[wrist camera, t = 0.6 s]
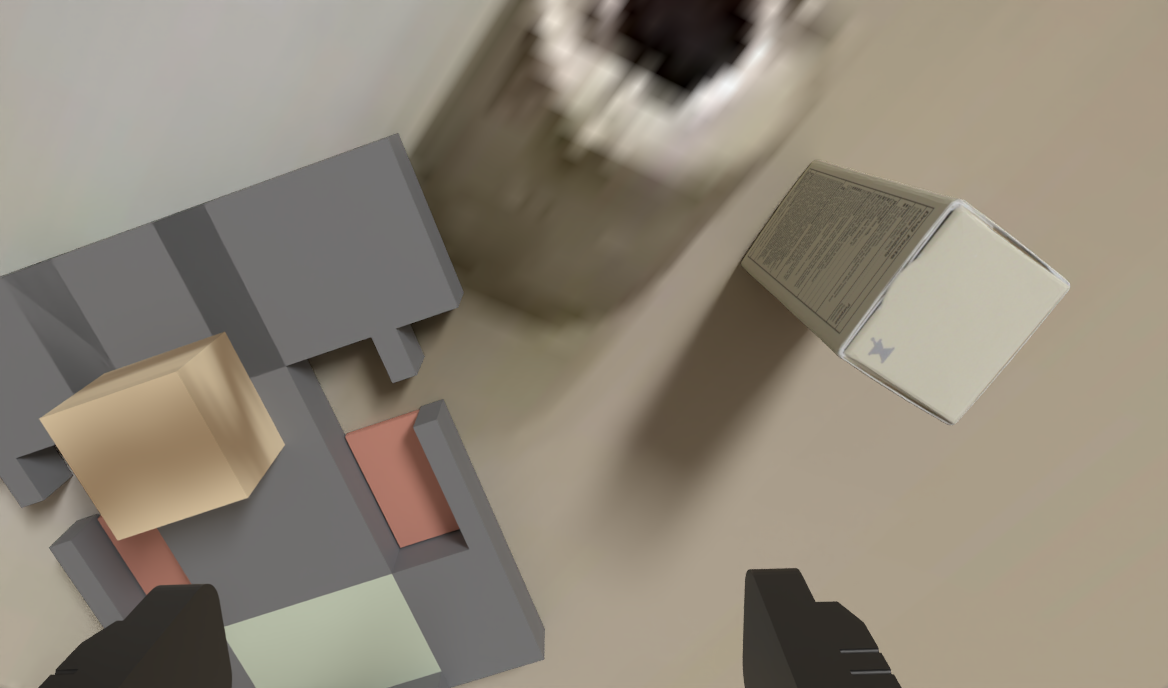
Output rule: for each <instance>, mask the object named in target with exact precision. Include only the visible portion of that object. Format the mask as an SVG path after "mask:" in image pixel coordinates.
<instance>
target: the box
mask: <svg viewBox="0 0 1168 688" xmlns="http://www.w3.org/2000/svg"><path fill="white" fill-rule="evenodd" d="M741 265H742V267H743V268H744V269H745V270H746V271H747V272H748V273H749V274H750V275H752V276H753V277H754V278H755V279H756V280H757V281H758V282H759V283H760V284H762V285H763V286H764V287H765V288H766V289H767V290H768V291H769V292H770V293H772V294H773V295H774V296H775V297H776V298H777V299H778V300H779V301H780V302H781V303H782V304H783V305H784V306H785V307H786V308H787V309H789V310H790V311H791V312H792V313H793V314H794V315H795V316H796V317H797V318H798V319H799V320H800V321H801V322H803V323H804V324H805V325H806V326H807V327H808V328H809V329H810V330H811V331H812V332H813V333H814V334H815V335H816V336H818V337H819V338H820V339H821V340H822V341H823V342H824V343H825V344H826V345H827V346H828V347H829V348H830V349H831V350H832V351H833V352H834V353H835V354H836V355H837V356H838V357H840V358H841V359H843V360H845V361H846V362H847V363H849V364H850V365H852V366H853V367H855V368H856V369H858V370H859V371H861V372H862V373H864V374H865V375H867V376H868V377H870V378H871V379H873V380H874V381H876V382H877V383H879V384H880V385H882V386H884V387H885V388H887V389H888V390H890V391H892V392H893V393H895V394H896V395H898V396H900V397H901V398H903V399H904V400H906V401H908V402H909V403H911V404H913V405H914V406H916V407H918V408H920V409H921V410H923V411H925V412H926V413H928V414H930V415H931V416H933V417H935V418H937V419H938V420H940V421H941V422H943V423H945V424H947V425H954V424H955V423H957V422H958V421H959V419H960V418H961V417H962V416H963V415H964V414H965V413H966V412H967V411H968V409H969V408H970V407H971V406H972V405H973V404H974V403H975V401H976V400H977V399H978V398H979V397H980V396H981V395H982V394H983V392H984V391H985V390H986V389H987V388H988V386H989V385H990V384H991V383H992V382H993V381H994V379H995V378H996V377H997V376H998V375H999V374H1000V373H1001V371H1002V370H1003V369H1004V368H1005V367H1006V366H1007V364H1008V363H1009V362H1010V361H1011V360H1012V358H1013V357H1014V356H1015V355H1016V354H1017V352H1018V351H1019V350H1020V349H1021V347H1022V346H1023V345H1024V344H1025V343H1026V342H1027V340H1028V339H1029V338H1030V337H1031V336H1032V334H1033V333H1034V332H1035V331H1036V329H1037V328H1038V327H1039V326H1040V325H1041V323H1042V322H1043V321H1044V320H1045V318H1046V317H1047V316H1048V315H1049V314H1050V312H1051V311H1052V310H1053V309H1054V307H1055V306H1056V305H1057V304H1058V303H1059V301H1060V300H1061V299H1062V298H1063V297H1064V295H1065V294H1066V293H1067V292H1068V290H1069V289H1070V283H1069V282H1068V281H1067V280H1066V279H1065V278H1064V277H1063V276H1061V275H1060V274H1059V273H1058V272H1057V271H1055V270H1054V269H1053V268H1052V267H1050V266H1049V265H1048V264H1047V263H1045V262H1044V261H1043V260H1042V259H1040V258H1039V257H1038V256H1037V255H1036V254H1034V253H1033V252H1032V251H1031V250H1029V249H1028V248H1027V247H1025V246H1024V245H1023V244H1022V243H1020V242H1019V241H1018V240H1017V239H1015V238H1014V237H1013V236H1011V235H1010V234H1009V233H1008V232H1006V231H1005V230H1004V229H1002V228H1001V227H1000V226H998V225H997V224H996V223H994V222H993V221H992V220H990V219H989V218H988V217H986V216H985V215H984V214H982V213H981V212H979V211H978V210H977V209H975V208H974V207H973V206H971V205H970V204H969V203H968V202H966V201H965V200H963V199H959V198H954V197H950V196H946V195H941V194H938V193H934V192H931V191H927V190H924V189H920V188H916V187H913V186H910V185H906V184H902V183H899V182H895V181H892V180H888V179H884V178H881V177H877V176H873V175H869V174H866V173H863V172H859V171H856V170H852V169H849V168H846V167H843V166H839V165H836V164H832V163H829V162H825V161H822V160H815V161H813V162H812V163H811V164H810V165H809V167H808V168H807V169H806V171H805V172H804V173H803V175H802V176H801V177H800V178H799V180H798V181H797V182H796V184H795V185H794V186H793V188H792V189H791V191H790V192H789V193H788V195H787V196H786V197H785V199H784V200H783V202H782V203H781V205H780V206H779V207H778V209H777V210H776V212H775V213H774V215H773V216H772V218H771V219H770V220H769V222H768V223H767V225H766V226H765V227H764V229H763V230H762V232H761V233H760V235H759V236H758V238H757V239H756V241H755V242H754V244H753V245H752V247H751V248H750V250H749V251H748V253H747V254H746V256H745V257H744V259H743V260H742V262H741Z"/></svg>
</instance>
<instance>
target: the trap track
mask: <svg viewBox="0 0 1168 688" xmlns="http://www.w3.org/2000/svg"><path fill="white" fill-rule="evenodd" d="M463 293H464V292H463V290H462V287H461V285H460V283H459V280H458V278H457V275H456V273H455V270H454V268H453V265H452V263H451V261H450V258H449V256H448V253H447V251H446V248H445V246H444V243H443V241H442V239H441V236H440V234H439V231H438V229H437V226H436V224H435V221H434V219H433V217H432V214H431V212H430V209H429V207H428V204H427V202H426V200H425V197H424V195H423V192H422V190H421V187H420V185H419V182H418V180H417V178H416V175H415V173H414V170H413V168H412V165H411V163H410V160H409V158H408V156H407V153H406V151H405V148H404V146H403V143H402V141H401V138H400V136H399V134H398V133H397V134H394V135H391V136H389V137H386V138H383V139H380V140H377V141H375V142H372V143H369V144H366V145H364V146H361V147H358V148H355V149H353V150H350V151H347V152H344V153H341V154H339V155H336V156H333V157H330V158H328V159H325V160H322V161H319V162H316V163H314V164H311V165H308V166H305V167H303V168H300V169H297V170H294V171H292V172H289V173H286V174H283V175H280V176H278V177H275V178H272V179H269V180H267V181H264V182H261V183H258V184H255V185H253V186H250V187H247V188H244V189H242V190H239V191H236V192H233V193H231V194H228V195H225V196H222V197H219V198H217V199H214V200H211V201H208V202H206V203H203V204H200V205H197V206H194V207H192V208H189V209H186V210H183V211H181V212H178V213H175V214H172V215H170V216H167V217H164V218H161V219H158V220H156V221H153V222H150V223H147V224H145V225H142V226H139V227H136V228H133V229H131V230H128V231H125V232H122V233H120V234H117V235H114V236H111V237H109V238H106V239H103V240H100V241H97V242H95V243H92V244H89V245H86V246H84V247H81V248H78V249H75V250H72V251H70V252H67V253H64V254H61V255H59V256H56V257H53V258H50V259H48V260H45V261H42V262H39V263H36V264H34V265H31V266H28V267H25V268H23V269H20V270H17V271H14V272H11V273H9V274H6V275H3V276H0V477H1V478H2V480H3V481H4V483H5V484H6V486H7V487H8V489H9V490H10V492H11V493H12V495H13V496H14V497H15V499H16V500H17V502H18V503H19V505H20V506H21V508H22V507H25V506H28V505H31V504H34V503H37V502H40V501H43V500H45V499H46V498H47V497H48V496H49V495H51V494H52V493H53V492H54V491H55V490H56V489H58V488H59V487H60V486H61V485H62V484H63V483H64V482H66V481H67V480H68V479H69V478H70V477H71V476H73V475H72V474H71V472H70V470H69V469H68V467H67V466H66V464H65V463H64V461H63V460H62V458H61V457H60V455H59V453H58V452H57V450H56V449H55V447H54V446H53V445H56V444H55V443H54V441H53V440H52V438H51V437H50V435H49V433H48V432H47V430H46V429H45V427H44V426H43V424H42V423H41V421H40V419H39V418H41V417H42V416H44V415H45V414H47V413H48V412H50V411H51V410H52V409H54V408H55V407H57V406H58V405H60V404H61V403H62V402H64V401H65V400H67V399H68V398H70V397H71V396H73V395H74V394H75V393H77V392H78V391H80V390H81V389H83V388H84V387H85V386H87V385H88V384H90V383H91V382H93V381H94V380H96V379H97V378H98V377H100V376H101V375H103V374H104V373H107V372H110V371H113V370H116V369H119V368H122V367H124V366H127V365H130V364H133V363H136V362H139V361H142V360H145V359H147V358H150V357H153V356H156V355H159V354H162V353H165V352H168V351H171V350H173V349H176V348H179V347H182V346H185V345H188V344H191V343H194V342H197V341H199V340H202V339H205V338H208V337H211V336H214V335H217V334H220V333H223V332H225V333H226V334H227V336H228V338H229V340H230V342H231V344H232V346H233V348H234V350H235V351H236V353H237V355H238V357H239V359H240V361H241V363H242V365H243V366H244V368H245V370H246V372H247V374H248V376H249V378H250V380H251V382H252V383H253V385H254V387H255V389H256V391H257V393H258V395H259V397H260V399H261V400H262V402H263V404H264V406H265V408H266V410H267V412H268V414H269V416H270V417H271V419H272V421H273V423H274V425H275V427H276V429H277V431H278V432H279V434H280V436H281V438H282V440H283V442H284V444H285V446H284V447H283V448H282V450H281V451H280V453H279V454H278V456H277V457H276V458H275V460H274V461H273V463H272V464H271V466H270V467H269V469H268V470H267V471H266V473H265V474H264V476H263V477H262V479H261V480H260V481H259V483H258V484H257V486H256V487H255V489H254V490H253V491H252V493H251V494H250V496H249V497H248V498H246V499H243V500H240V501H237V502H234V503H231V504H228V505H225V506H222V507H219V508H216V509H212V510H209V511H206V512H203V513H200V514H197V515H194V516H191V517H188V518H185V519H182V520H179V521H176V522H173V523H170V524H167V525H164V526H161V527H158V528H155V529H152V530H149V531H146V532H143V533H140V534H136V535H133V536H130V537H127V538H124V539H121V540H117V539H116V537H115V536H114V534H113V533H112V531H111V529H110V528H109V526H108V525H107V523H106V522H105V520H104V519H103V517H102V516H100V517H99V515H98V514H96V515H93V516H90V517H87V518H84V519H81V520H78V521H76V522H75V523H74V524H73V525H72V526H71V527H70V528H69V529H68V530H67V531H66V532H65V533H64V534H63V535H62V536H61V537H60V538H58V539H57V540H56V541H55V542H54V543H53V544H52V545H51V546H50V547H49V549H50V550H51V551H52V553H53V554H54V556H55V557H56V559H57V560H58V562H59V563H60V565H61V566H62V568H63V569H64V570H65V572H66V573H67V575H68V576H69V578H70V579H71V581H72V582H73V584H74V585H75V587H76V588H77V589H78V591H79V592H80V594H81V595H82V597H83V598H84V600H85V601H86V603H87V604H88V606H89V607H90V608H91V610H92V611H93V613H94V614H95V616H96V617H97V619H98V620H99V622H100V623H101V625H102V626H103V627H104V628H106V627H107V626H109V625H111V624H112V623H114V622H115V621H122V620H124V619H125V618H126V617H127V616H128V615H129V614H130V613H131V612H132V610H133V609H134V608H135V607H136V606H137V605H138V604H139V603H140V602H141V601H142V600H143V598H144V597H145V596H146V595H147V594H148V593H149V592H150V591H151V590H152V589H153V588H154V587H156V586H159V585H179V584H211V585H213V586H214V587H215V589H216V590H217V593H218V595H219V600H220V606H221V611H222V617H223V623H224V629H225V634H226V640H227V646H228V652H229V657H230V663H231V669H232V688H451V687H455V686H458V685H461V684H465V683H468V682H471V681H474V680H478V679H481V678H484V677H488V676H491V675H494V674H498V673H501V672H504V671H507V670H511V669H514V668H517V667H521V666H524V665H527V664H531V663H534V662H537V661H540V660H544V638H545V629H544V626H543V624H542V622H541V620H540V617H539V615H538V613H537V610H536V608H535V606H534V604H533V601H532V599H531V597H530V595H529V592H528V590H527V588H526V585H525V583H524V581H523V579H522V576H521V574H520V572H519V570H518V567H517V565H516V563H515V561H514V558H513V556H512V554H511V551H510V549H509V547H508V545H507V542H506V540H505V538H504V536H503V533H502V531H501V529H500V527H499V524H498V522H497V520H496V517H495V515H494V513H493V511H492V508H491V506H490V504H489V502H488V499H487V497H486V495H485V493H484V490H483V488H482V486H481V483H480V481H479V479H478V477H477V474H476V472H475V470H474V468H473V465H472V463H471V461H470V458H469V456H468V454H467V452H466V449H465V447H464V445H463V443H462V440H461V438H460V436H459V434H458V431H457V429H456V427H455V424H454V422H453V420H452V418H451V415H450V413H449V411H448V409H447V406H446V404H445V402H444V400H443V399H442V400H439V401H436V402H433V403H430V404H427V405H424V406H421V408H420V409H419V410H416V411H413V412H410V413H407V414H404V415H401V416H398V417H395V418H392V419H389V420H386V421H383V422H380V423H377V424H374V425H371V426H368V427H365V428H362V429H359V430H356V431H353V432H350V433H347V434H346V436H345V434H344V432H343V430H342V428H341V426H340V424H339V422H338V420H337V418H336V416H335V414H334V412H333V410H332V408H331V406H330V404H329V402H328V400H327V398H326V396H325V394H324V392H323V390H322V388H321V386H320V384H319V382H318V380H317V378H316V376H315V374H314V372H313V370H312V368H311V366H310V364H309V362H308V360H307V359H308V358H311V357H314V356H317V355H320V354H323V353H326V352H329V351H332V350H335V349H338V348H340V347H343V346H346V345H349V344H352V343H355V342H358V341H361V340H364V339H367V338H370V337H371V338H372V340H373V342H374V344H375V346H376V348H377V351H378V353H379V355H380V357H381V359H382V361H383V364H384V366H385V368H386V370H387V372H388V374H389V377H390V379H391V381H392V383H395V382H398V381H401V380H404V379H407V378H410V377H413V376H416V375H417V373H418V371H419V369H420V366H421V364H422V362H423V359H424V357H425V356H424V354H423V352H422V350H421V347H420V345H419V343H418V341H417V338H416V336H415V334H414V331H413V329H412V327H411V325H410V324H411V323H414V322H417V321H420V320H423V319H426V318H428V317H431V316H434V315H437V314H440V313H443V312H446V311H449V310H452V309H455V308H458V306H459V304H460V301H461V298H462V296H463Z"/></svg>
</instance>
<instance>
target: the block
mask: <svg viewBox="0 0 1168 688" xmlns="http://www.w3.org/2000/svg"><path fill="white" fill-rule="evenodd" d="M39 419H40V421H41V423H42V424H43V426H44V427H45V429H46V430H47V432H48V433H49V435H50V437H51V438H52V440H53V441H54V443H55V444H56V446H57V447H58V449H59V450H60V452H61V454H62V455H63V457H64V458H65V460H66V461H67V463H68V464H69V466H70V467H71V469H72V471H73V472H74V474H75V475H76V477H77V478H78V480H79V481H80V483H81V485H82V486H83V488H84V489H85V491H86V492H87V494H88V495H89V497H90V498H91V500H92V502H93V503H94V505H95V506H96V508H97V509H98V511H99V512H100V514H101V516H102V517H103V519H104V520H105V522H106V523H107V525H108V526H109V528H110V529H111V531H112V533H113V534H114V536H115V537H116V539H117V540H121V539H124V538H127V537H130V536H133V535H136V534H140V533H143V532H146V531H149V530H152V529H155V528H158V527H161V526H164V525H167V524H170V523H173V522H176V521H179V520H182V519H185V518H188V517H191V516H194V515H197V514H200V513H203V512H206V511H209V510H212V509H216V508H219V507H222V506H225V505H228V504H231V503H234V502H237V501H240V500H243V499H246V498H248V497H249V496H250V494H251V493H252V491H253V490H254V489H255V487H256V486H257V484H258V483H259V481H260V480H261V479H262V477H263V476H264V474H265V473H266V471H267V470H268V469H269V467H270V466H271V464H272V463H273V461H274V460H275V458H276V457H277V456H278V454H279V453H280V451H281V450H282V448H283V447H284V446H285V444H284V442H283V440H282V438H281V436H280V434H279V432H278V431H277V429H276V427H275V425H274V423H273V421H272V419H271V417H270V416H269V414H268V412H267V410H266V408H265V406H264V404H263V402H262V400H261V399H260V397H259V395H258V393H257V391H256V389H255V387H254V385H253V383H252V382H251V380H250V378H249V376H248V374H247V372H246V370H245V368H244V366H243V365H242V363H241V361H240V359H239V357H238V355H237V353H236V351H235V350H234V348H233V346H232V344H231V342H230V340H229V338H228V336H227V334H226V333H225V332H223V333H220V334H217V335H214V336H211V337H208V338H205V339H202V340H199V341H197V342H194V343H191V344H188V345H185V346H182V347H179V348H176V349H173V350H171V351H168V352H165V353H162V354H159V355H156V356H153V357H150V358H147V359H145V360H142V361H139V362H136V363H133V364H130V365H127V366H124V367H122V368H119V369H116V370H113V371H110V372H107V373H104V374H103V375H101V376H100V377H98V378H97V379H96V380H94V381H93V382H91V383H90V384H88V385H87V386H85V387H84V388H83V389H81V390H80V391H78V392H77V393H75V394H74V395H73V396H71V397H70V398H68V399H67V400H65V401H64V402H62V403H61V404H60V405H58V406H57V407H55V408H54V409H52V410H51V411H50V412H48V413H47V414H45V415H44V416H42V417H41V418H39Z"/></svg>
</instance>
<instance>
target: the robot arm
mask: <svg viewBox="0 0 1168 688" xmlns="http://www.w3.org/2000/svg"><path fill="white" fill-rule="evenodd" d="M743 676H744V685H745V688H901V686H900V684H899V683H898V681H897V679H896V677H895V676H894V674H891V669H890V667H889V665H888V664H887V662H886V660H885V658H884V657H883V655H882V653H879V650H878V646H877V644H876V643H875V641H874V639H873V638H872V636H871V634H870V632H869V631H868V629H867V627H866V625H865V624H864V622H862V621H861V620H860V619H859V618H857V617H856V616H855V615H854V614H852V613H851V612H850V611H849V610H847V609H846V608H845V607H844V606H842V605H841V604H840V603H839V602H815V600H814V598H813V596H812V594H811V592H810V590H809V588H808V586H807V584H806V582H805V580H804V578H803V576H802V574H801V572H800V571H799V570H798V569H797V568H785V569H750V570H748V571H747V573H746V578H745V598H744V630H743ZM39 688H232V669H231V663H230V657H229V652H228V646H227V640H226V634H225V629H224V623H223V617H222V611H221V606H220V600H219V595H218V593H217V590H216V589H215V587H214V586H213V585H211V584H179V585H159V586H156V587H154V588H153V589H152V590H151V591H150V592H149V593H148V594H147V595H146V596H145V597H144V598H143V600H142V601H141V602H140V603H139V604H138V605H137V606H136V607H135V608H134V609H133V610H132V612H131V613H130V614H129V615H128V616H127V617H126V618H125V619H124V620H122V621H115V622H114V623H112V624H111V625H109V626H107V627H106V628H104V629H103V630H101V631H100V632H98V633H96V634H95V635H93V636H92V637H90V638H89V639H87V640H86V641H84V642H82V643H81V644H80V645H79V646H78V647H77V648H76V649H75V650H74V651H73V652H72V653H71V654H70V655H69V656H68V657H67V658H66V659H65V661H64V662H63V663H62V664H61V665H60V666H59V667H58V668H57V669H56V673H55V675H50V676H49V677H48V678H47V679H46V680H45V681H44V682H43V683H42V684H41V685H40V686H39Z"/></svg>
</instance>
